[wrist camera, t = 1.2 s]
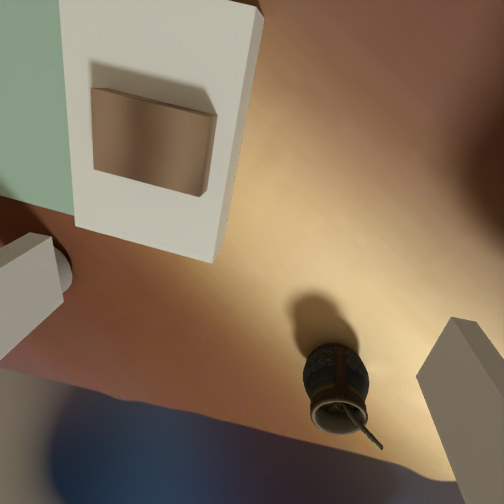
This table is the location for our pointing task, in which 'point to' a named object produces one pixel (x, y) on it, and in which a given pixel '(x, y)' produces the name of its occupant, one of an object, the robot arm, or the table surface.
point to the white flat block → (165, 90)
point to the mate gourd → (337, 390)
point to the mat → (33, 106)
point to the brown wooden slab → (152, 141)
